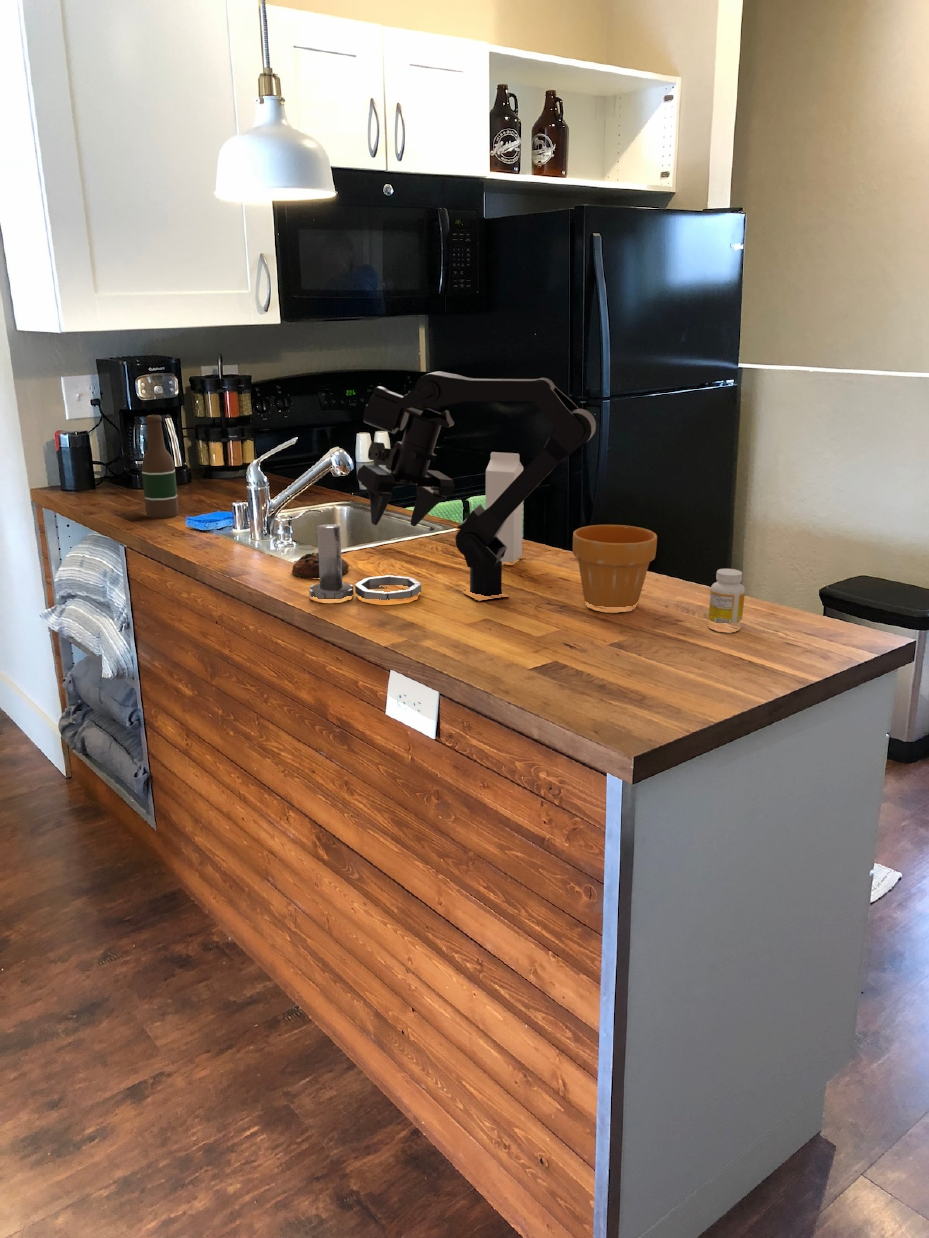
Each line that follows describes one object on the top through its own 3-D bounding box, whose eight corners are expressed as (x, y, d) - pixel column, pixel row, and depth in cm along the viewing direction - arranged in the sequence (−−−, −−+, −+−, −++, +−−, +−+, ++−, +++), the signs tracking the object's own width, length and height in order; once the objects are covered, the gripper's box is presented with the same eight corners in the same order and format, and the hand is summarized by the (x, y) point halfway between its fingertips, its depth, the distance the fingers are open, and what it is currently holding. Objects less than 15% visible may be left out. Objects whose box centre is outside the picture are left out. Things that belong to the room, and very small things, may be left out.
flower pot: (656, 598, 180) (661, 527, 176) (648, 622, 167) (653, 546, 163) (577, 592, 184) (580, 522, 180) (564, 615, 171) (566, 540, 167)
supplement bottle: (718, 635, 161) (723, 577, 158) (701, 625, 166) (705, 568, 163) (748, 632, 163) (753, 574, 160) (730, 622, 167) (735, 566, 164)
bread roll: (310, 583, 189) (308, 556, 188) (281, 578, 198) (279, 553, 197) (360, 575, 196) (358, 549, 195) (330, 571, 205) (328, 547, 204)
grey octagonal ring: (429, 600, 179) (429, 588, 178) (369, 608, 174) (369, 596, 173) (405, 584, 188) (405, 573, 187) (348, 592, 184) (348, 579, 183)
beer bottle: (139, 517, 243) (129, 416, 236) (157, 511, 250) (148, 413, 243) (167, 519, 241) (158, 418, 234) (185, 513, 248) (177, 414, 241)
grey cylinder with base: (359, 601, 178) (357, 529, 174) (317, 606, 175) (313, 533, 171) (345, 589, 185) (342, 520, 181) (304, 595, 182) (300, 524, 178)
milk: (513, 566, 201) (515, 456, 194) (484, 563, 203) (485, 454, 196) (521, 559, 206) (524, 451, 199) (493, 556, 208) (495, 449, 201)
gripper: (429, 431, 188) (405, 508, 193) (350, 421, 174) (327, 505, 180) (467, 453, 181) (441, 533, 186) (388, 445, 168) (363, 531, 173)
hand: (393, 524), depth 182 cm, fingers open, 9 cm apart
